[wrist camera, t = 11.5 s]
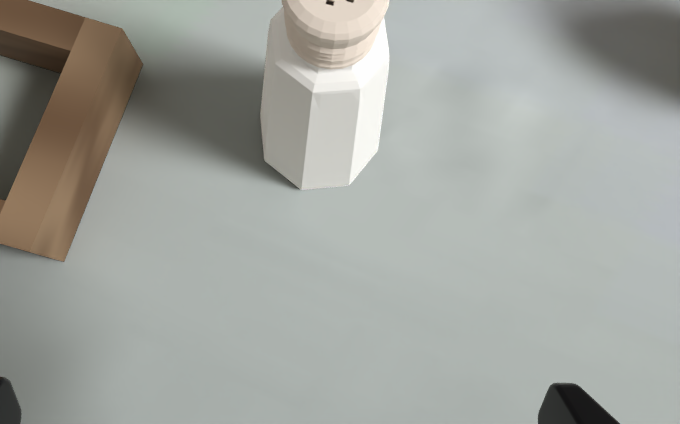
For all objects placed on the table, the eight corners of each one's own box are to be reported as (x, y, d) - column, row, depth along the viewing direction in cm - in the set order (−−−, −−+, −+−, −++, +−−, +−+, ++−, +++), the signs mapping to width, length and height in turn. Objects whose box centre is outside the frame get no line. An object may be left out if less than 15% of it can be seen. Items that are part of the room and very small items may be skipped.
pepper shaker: (278, 63, 25) (264, -135, 14) (392, 97, 25) (463, -74, 14) (241, 173, 24) (196, 47, 13) (361, 208, 24) (413, 111, 13)
